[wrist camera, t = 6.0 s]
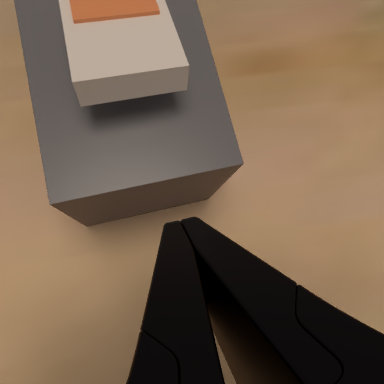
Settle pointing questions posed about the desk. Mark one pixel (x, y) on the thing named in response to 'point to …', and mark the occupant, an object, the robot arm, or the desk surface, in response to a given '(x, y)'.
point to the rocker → (122, 49)
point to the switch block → (126, 127)
